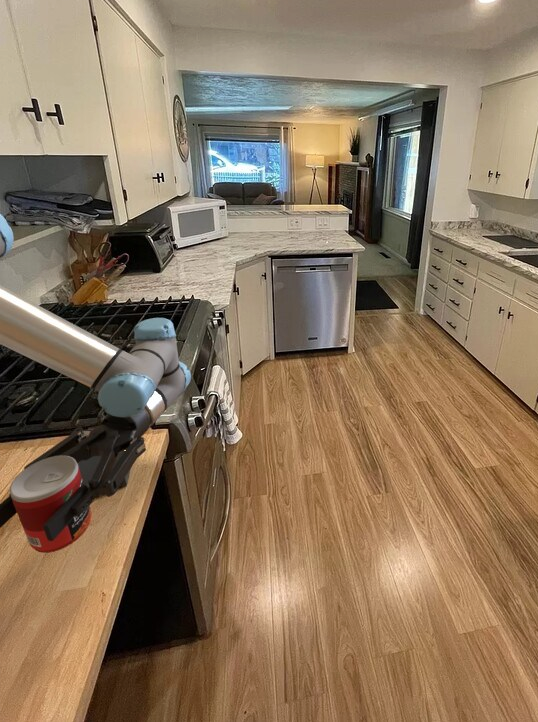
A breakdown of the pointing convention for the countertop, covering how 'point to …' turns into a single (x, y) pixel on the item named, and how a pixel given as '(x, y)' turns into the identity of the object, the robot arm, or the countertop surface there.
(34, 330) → the robot arm
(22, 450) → the countertop surface
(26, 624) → the countertop surface
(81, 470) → the tray
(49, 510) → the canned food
